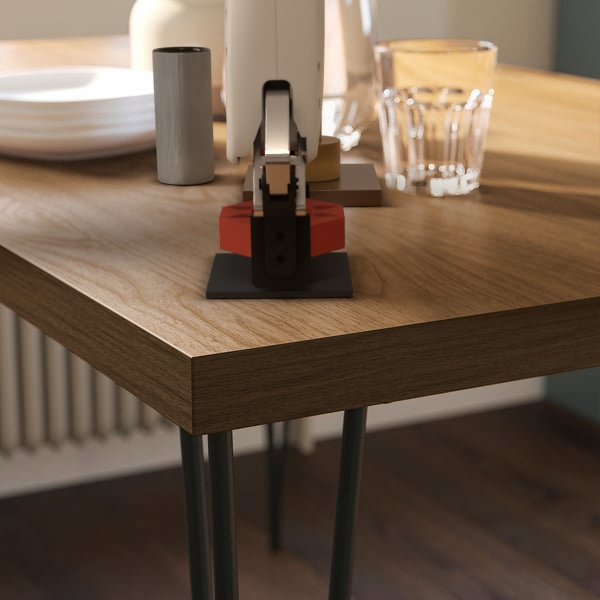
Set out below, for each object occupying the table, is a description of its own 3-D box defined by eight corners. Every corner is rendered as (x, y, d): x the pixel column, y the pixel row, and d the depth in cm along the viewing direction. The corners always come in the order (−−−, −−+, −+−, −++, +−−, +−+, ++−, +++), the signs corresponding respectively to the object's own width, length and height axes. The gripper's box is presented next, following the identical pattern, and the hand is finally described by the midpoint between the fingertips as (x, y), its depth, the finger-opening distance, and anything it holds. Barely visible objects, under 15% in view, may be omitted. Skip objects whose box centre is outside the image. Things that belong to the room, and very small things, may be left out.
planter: (180, 188, 91) (175, 53, 88) (146, 179, 95) (140, 49, 92) (226, 179, 94) (222, 48, 91) (191, 171, 98) (187, 45, 94)
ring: (217, 259, 64) (216, 227, 63) (225, 228, 70) (224, 198, 70) (346, 258, 64) (346, 225, 63) (342, 226, 70) (341, 197, 70)
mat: (205, 298, 64) (205, 291, 64) (215, 259, 72) (215, 253, 71) (353, 297, 64) (353, 290, 64) (347, 258, 72) (347, 251, 71)
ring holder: (242, 207, 85) (240, 112, 83) (248, 179, 94) (246, 93, 92) (381, 205, 85) (382, 111, 83) (373, 178, 94) (374, 92, 92)
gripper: (216, -58, 70) (226, 231, 76) (190, -55, 54) (205, 315, 59) (341, -60, 70) (342, 229, 76) (354, -57, 54) (354, 312, 59)
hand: (282, 264), depth 67 cm, fingers closed on ring, 7 cm apart
